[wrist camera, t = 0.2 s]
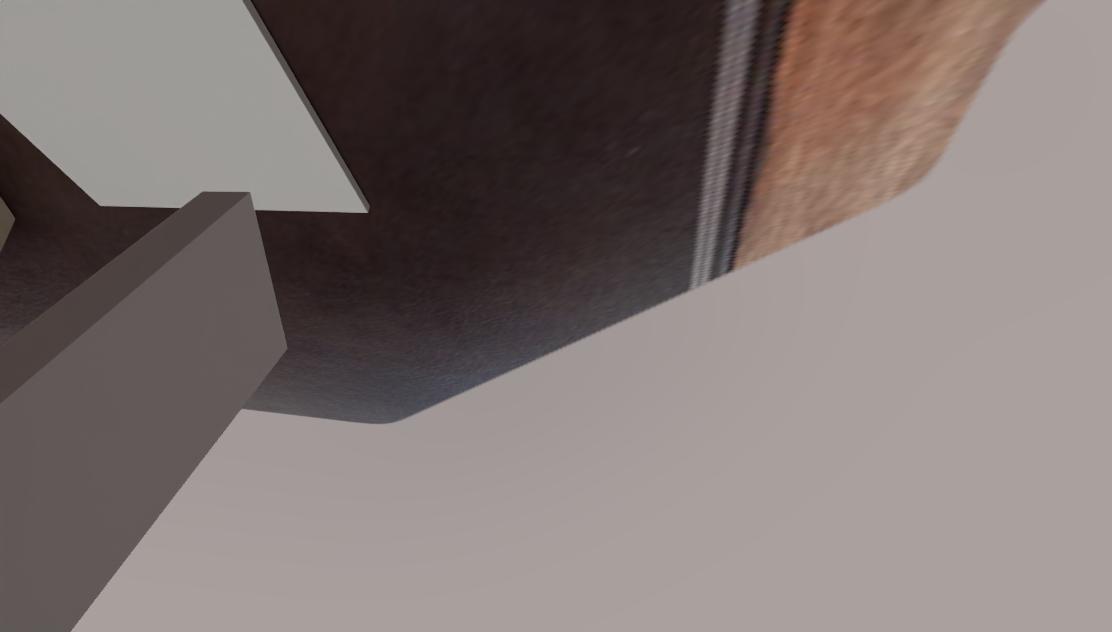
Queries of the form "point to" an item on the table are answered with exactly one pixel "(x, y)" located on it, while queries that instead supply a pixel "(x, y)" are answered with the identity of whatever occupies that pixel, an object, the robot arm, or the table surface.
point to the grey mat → (167, 104)
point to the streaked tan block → (5, 222)
